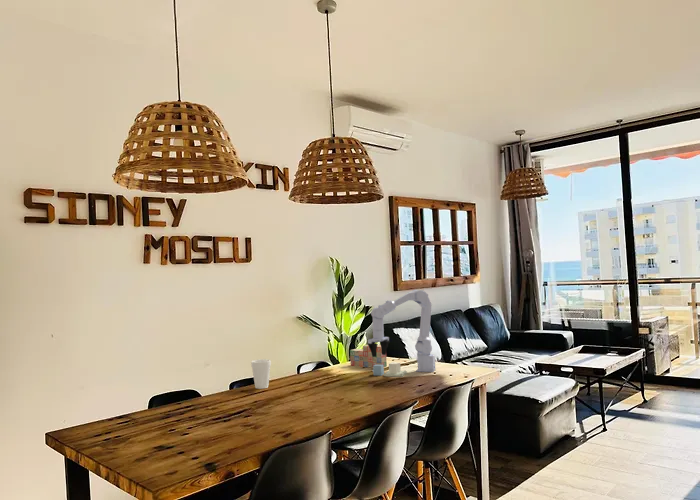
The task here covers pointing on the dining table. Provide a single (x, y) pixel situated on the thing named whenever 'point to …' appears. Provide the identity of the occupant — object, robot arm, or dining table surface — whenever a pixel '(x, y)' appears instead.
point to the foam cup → (261, 372)
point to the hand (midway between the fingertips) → (379, 355)
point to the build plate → (396, 374)
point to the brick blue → (378, 370)
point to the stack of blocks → (367, 357)
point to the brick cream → (394, 367)
